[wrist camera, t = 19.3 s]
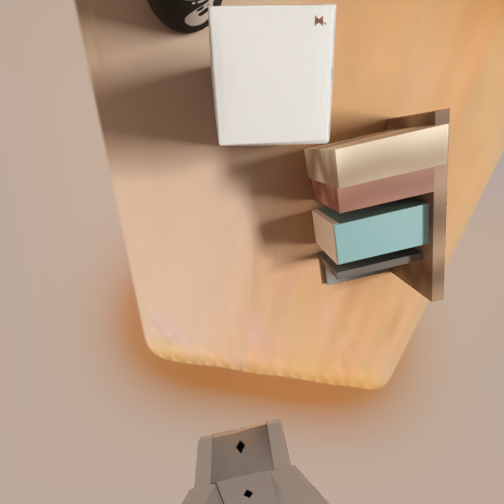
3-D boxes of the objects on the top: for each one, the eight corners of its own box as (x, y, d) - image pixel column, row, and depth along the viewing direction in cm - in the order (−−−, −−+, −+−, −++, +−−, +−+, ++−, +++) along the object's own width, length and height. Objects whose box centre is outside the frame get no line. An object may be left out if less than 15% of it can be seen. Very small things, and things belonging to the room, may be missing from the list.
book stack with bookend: (302, 139, 30) (333, 135, 21) (396, 117, 30) (464, 105, 22) (323, 288, 36) (353, 331, 28) (400, 270, 36) (454, 306, 28)
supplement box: (213, 63, 27) (205, -3, 15) (290, 63, 27) (342, -2, 16) (218, 147, 29) (215, 147, 18) (289, 145, 30) (333, 143, 18)
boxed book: (311, 209, 33) (333, 225, 26) (387, 191, 33) (429, 202, 26) (315, 242, 34) (337, 265, 28) (389, 225, 34) (428, 243, 28)
